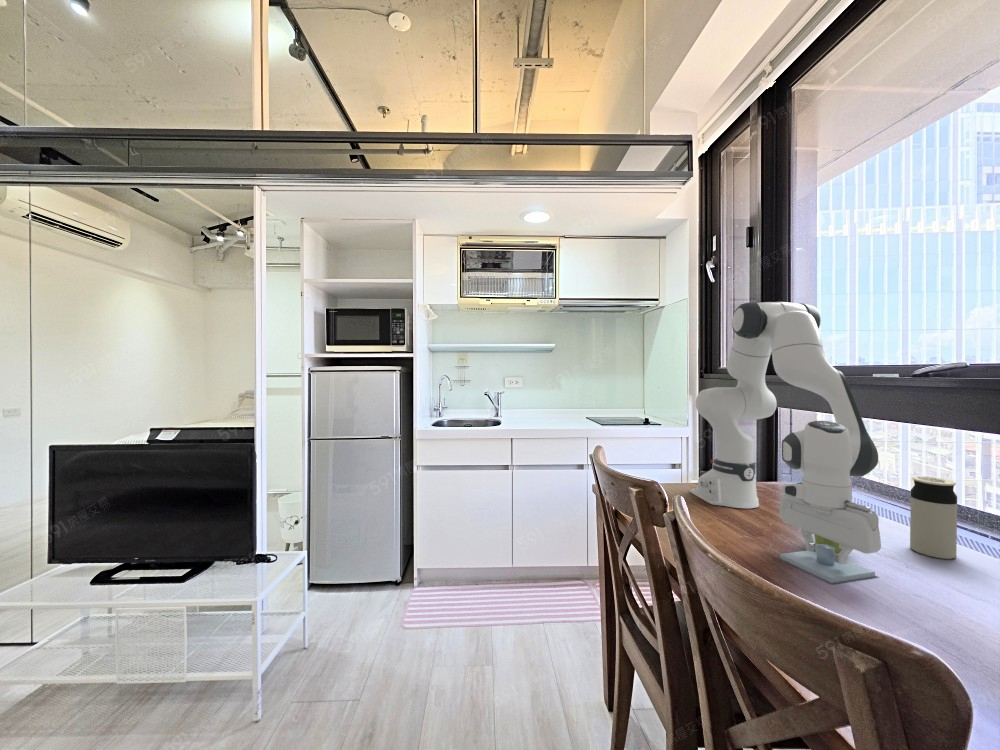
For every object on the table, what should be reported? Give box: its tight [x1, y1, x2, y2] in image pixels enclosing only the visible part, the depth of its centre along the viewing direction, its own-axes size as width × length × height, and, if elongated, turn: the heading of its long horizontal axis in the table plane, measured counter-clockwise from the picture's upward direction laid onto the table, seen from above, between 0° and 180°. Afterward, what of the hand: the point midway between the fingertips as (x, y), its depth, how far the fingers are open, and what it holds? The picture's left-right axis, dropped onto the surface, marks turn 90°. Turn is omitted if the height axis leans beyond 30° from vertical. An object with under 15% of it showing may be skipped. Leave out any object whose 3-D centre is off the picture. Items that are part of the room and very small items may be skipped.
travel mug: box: [909, 475, 958, 560], centre depth 104 cm, size 8×8×18 cm
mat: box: [777, 556, 880, 586], centre depth 95 cm, size 13×13×1 cm
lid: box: [779, 544, 876, 583], centre depth 95 cm, size 12×12×4 cm
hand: (825, 556), depth 95 cm, fingers open, 5 cm apart
